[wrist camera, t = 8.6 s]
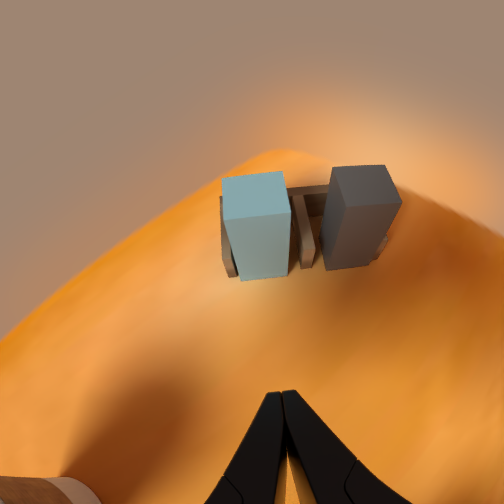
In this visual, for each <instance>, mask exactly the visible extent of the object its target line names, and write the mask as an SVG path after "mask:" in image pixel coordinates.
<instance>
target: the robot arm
mask: <svg viewBox="0 0 504 504" xmlns="http://www.w3.org/2000/svg"><path fill="white" fill-rule="evenodd" d="M287 453H288V459H289V463H290V467H291V471H292V475H293V479H294V482H295V486H296V490H297V494H298V498H299V501H300V504H412V503H411V502H409V501H408V500H406V499H405V498H404V497H402V496H401V495H399V494H398V493H396V492H395V491H394V490H392V489H391V488H390V487H388V486H387V485H386V484H384V483H383V482H382V481H381V480H379V479H378V478H377V477H376V476H375V475H374V474H373V473H372V472H371V471H370V470H369V469H367V468H366V467H365V466H364V464H363V463H362V462H361V461H360V460H357V457H356V456H355V455H354V454H353V453H352V452H351V451H350V450H349V449H348V448H347V447H346V446H345V445H344V444H343V442H342V441H341V440H340V439H339V438H338V437H337V436H336V435H335V434H334V433H333V432H332V430H331V429H330V428H329V427H328V426H327V425H326V424H325V423H324V422H323V421H322V419H321V418H320V417H319V416H318V415H317V414H316V413H315V412H314V410H313V409H312V408H311V407H310V406H309V405H308V404H307V402H306V401H305V400H304V399H303V398H302V397H301V396H300V394H299V393H298V392H297V391H296V390H286V391H282V393H281V392H279V391H277V392H268V393H267V394H266V395H265V397H264V399H263V401H262V403H261V405H260V407H259V409H258V411H257V413H256V415H255V417H254V419H253V421H252V423H251V425H250V427H249V429H248V430H247V432H246V434H245V436H244V438H243V440H242V442H241V443H240V445H239V447H238V449H237V451H236V453H235V454H234V456H233V458H232V460H231V461H230V463H229V465H228V467H227V468H226V470H225V472H224V474H223V475H224V476H222V477H221V479H220V480H219V482H218V484H217V485H216V487H215V488H214V490H213V491H212V493H211V494H210V496H209V497H208V499H207V500H206V501H205V503H204V504H285V494H286V477H287Z"/></svg>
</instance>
